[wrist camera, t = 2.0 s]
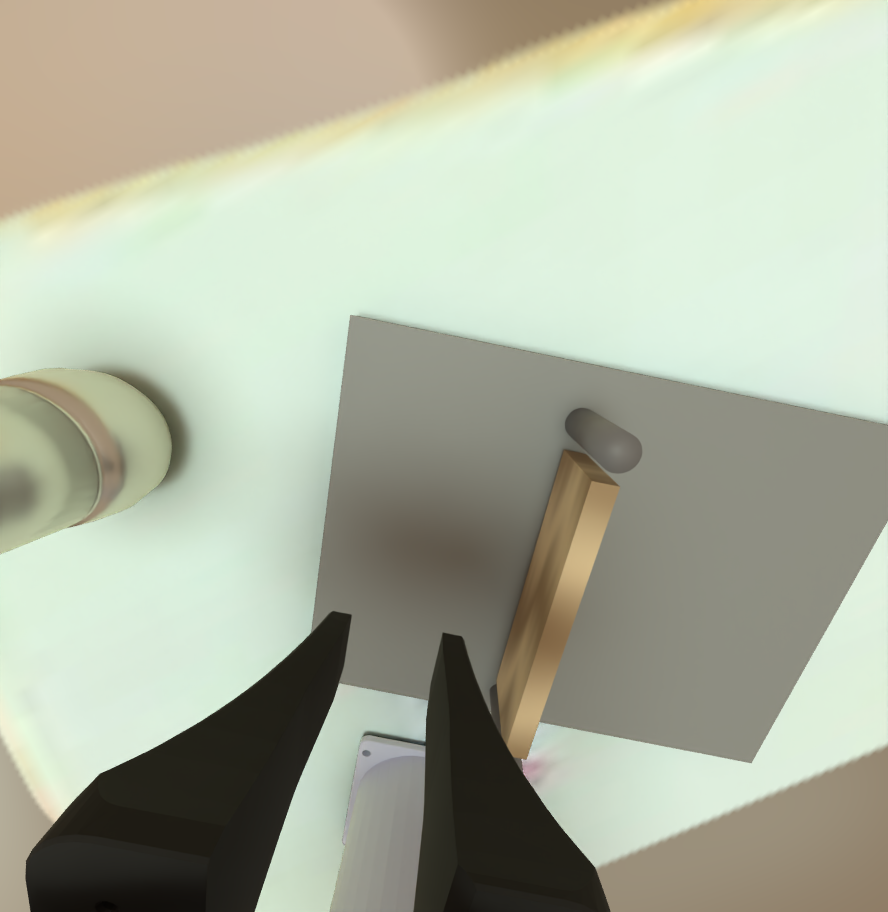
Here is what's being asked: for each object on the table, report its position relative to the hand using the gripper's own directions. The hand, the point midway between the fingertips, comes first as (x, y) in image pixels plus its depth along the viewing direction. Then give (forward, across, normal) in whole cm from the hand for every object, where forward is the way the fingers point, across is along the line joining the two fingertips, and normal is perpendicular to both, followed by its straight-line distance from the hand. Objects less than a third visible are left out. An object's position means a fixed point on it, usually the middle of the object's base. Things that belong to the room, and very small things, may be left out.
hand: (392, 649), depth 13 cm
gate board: (+8, -8, 0) cm, 12 cm away
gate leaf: (+7, -6, +1) cm, 9 cm away
